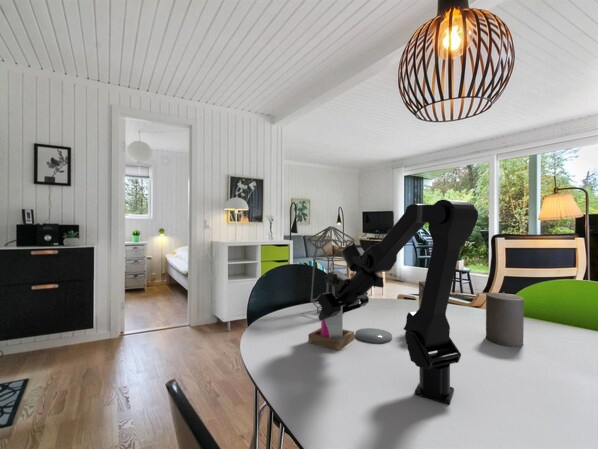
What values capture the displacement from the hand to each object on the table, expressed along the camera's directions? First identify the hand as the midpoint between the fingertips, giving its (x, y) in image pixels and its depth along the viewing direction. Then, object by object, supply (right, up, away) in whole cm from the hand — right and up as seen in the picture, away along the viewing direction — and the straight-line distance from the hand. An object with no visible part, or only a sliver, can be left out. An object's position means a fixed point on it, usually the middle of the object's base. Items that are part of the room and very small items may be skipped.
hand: (328, 316), depth 92 cm
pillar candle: (+54, -8, +1) cm, 54 cm away
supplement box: (+1, -7, -1) cm, 7 cm away
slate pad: (+15, -7, +3) cm, 17 cm away
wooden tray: (+1, -7, -1) cm, 7 cm away
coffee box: (+34, -8, +8) cm, 36 cm away
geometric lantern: (+4, -8, +30) cm, 32 cm away
